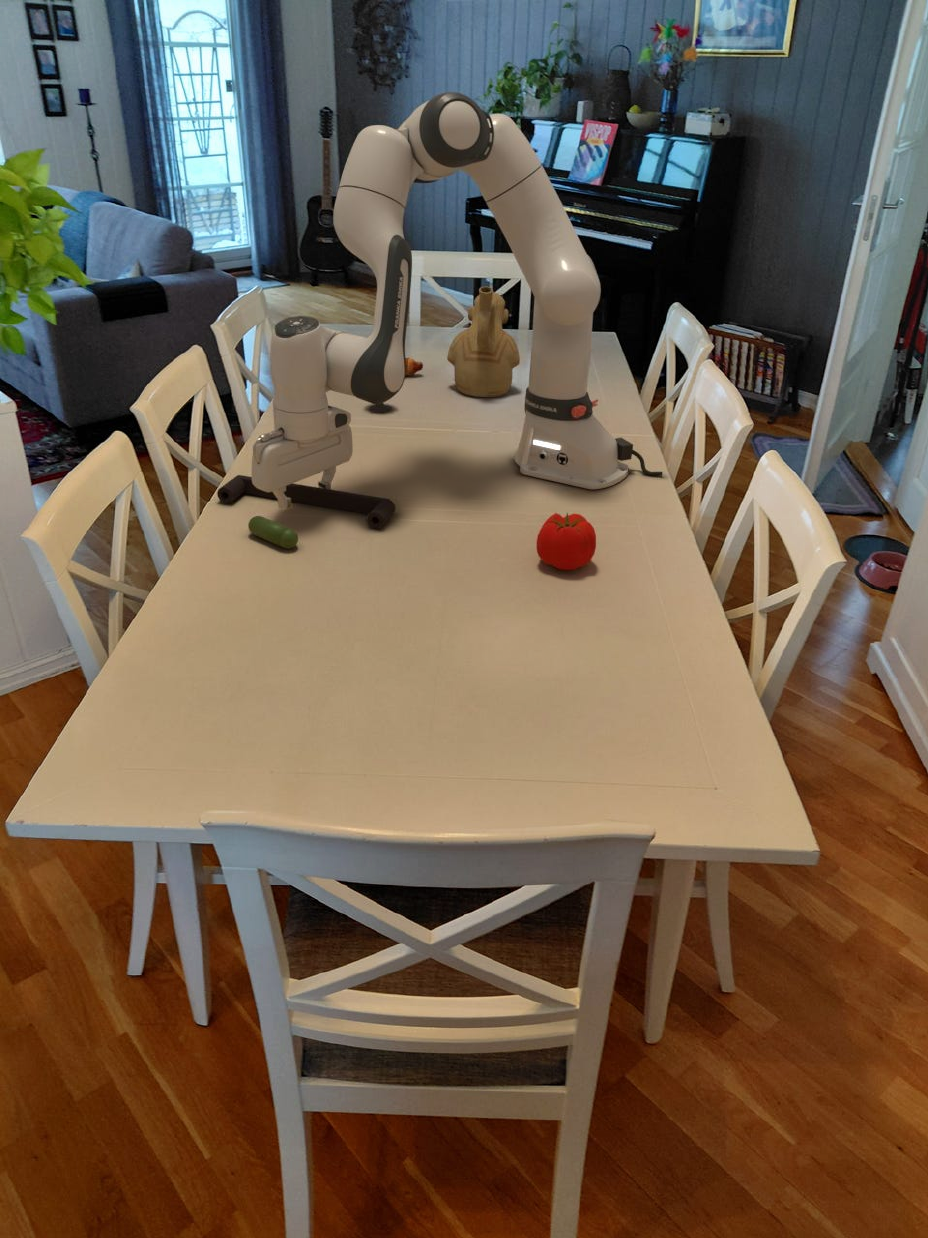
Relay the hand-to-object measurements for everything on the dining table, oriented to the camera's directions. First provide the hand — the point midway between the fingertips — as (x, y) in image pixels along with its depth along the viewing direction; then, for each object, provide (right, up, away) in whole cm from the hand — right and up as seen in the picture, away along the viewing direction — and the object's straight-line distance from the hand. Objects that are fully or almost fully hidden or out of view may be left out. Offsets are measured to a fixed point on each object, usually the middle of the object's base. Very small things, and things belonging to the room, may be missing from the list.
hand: (305, 499), depth 159 cm
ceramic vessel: (+31, +34, +62) cm, 77 cm away
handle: (0, -2, +1) cm, 2 cm away
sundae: (+9, +26, +47) cm, 55 cm away
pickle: (-3, -8, -10) cm, 13 cm away
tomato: (+43, -12, -12) cm, 46 cm away
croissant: (+6, +40, +70) cm, 81 cm away
